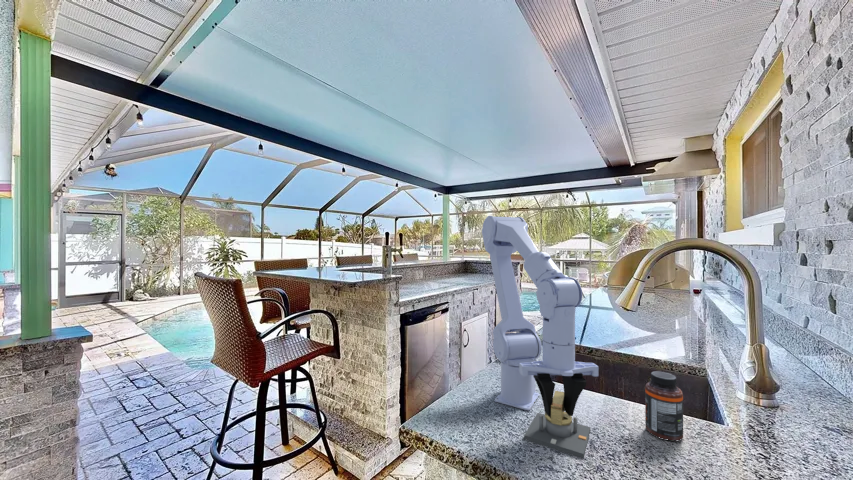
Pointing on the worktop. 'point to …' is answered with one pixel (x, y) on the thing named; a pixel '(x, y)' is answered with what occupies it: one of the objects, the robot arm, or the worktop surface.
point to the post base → (562, 442)
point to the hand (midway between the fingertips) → (558, 413)
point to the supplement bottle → (664, 406)
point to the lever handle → (558, 411)
